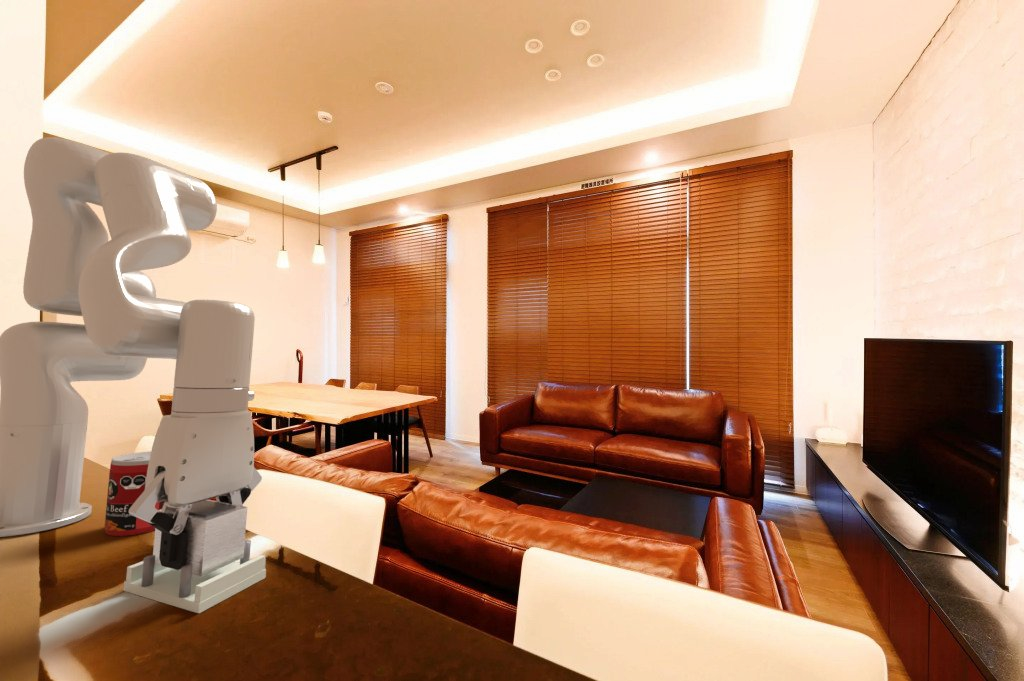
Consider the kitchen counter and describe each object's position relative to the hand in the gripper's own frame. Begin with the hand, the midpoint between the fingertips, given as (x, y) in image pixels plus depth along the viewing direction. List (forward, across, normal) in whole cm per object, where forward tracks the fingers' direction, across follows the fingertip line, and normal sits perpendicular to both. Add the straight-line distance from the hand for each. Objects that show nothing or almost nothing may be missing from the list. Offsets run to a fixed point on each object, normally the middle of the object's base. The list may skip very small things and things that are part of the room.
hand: (199, 554), depth 49 cm
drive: (+1, 0, 0) cm, 1 cm away
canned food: (+4, -8, -25) cm, 27 cm away
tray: (+3, 0, 0) cm, 3 cm away
